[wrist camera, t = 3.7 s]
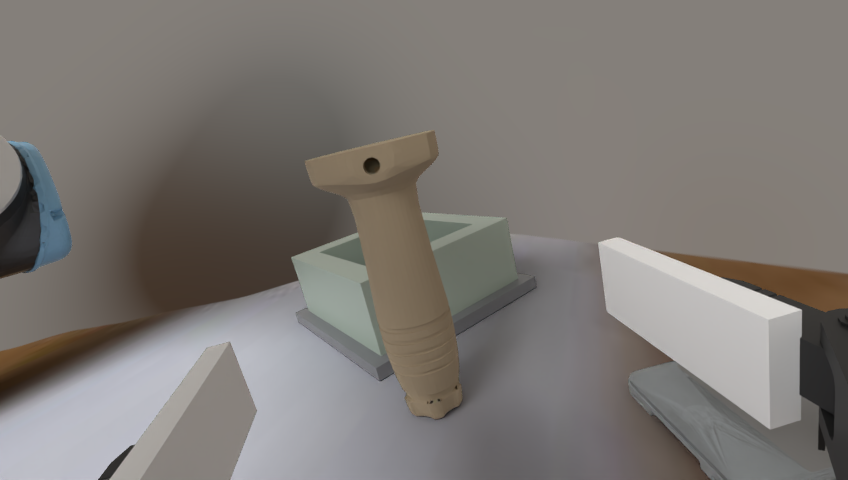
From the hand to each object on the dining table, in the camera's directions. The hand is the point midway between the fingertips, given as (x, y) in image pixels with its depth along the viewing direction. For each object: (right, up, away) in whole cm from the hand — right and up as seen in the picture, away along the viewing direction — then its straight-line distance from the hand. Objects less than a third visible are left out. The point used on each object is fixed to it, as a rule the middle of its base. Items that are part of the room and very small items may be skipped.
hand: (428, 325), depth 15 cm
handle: (+1, -7, +10) cm, 12 cm away
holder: (-1, -3, +24) cm, 24 cm away
